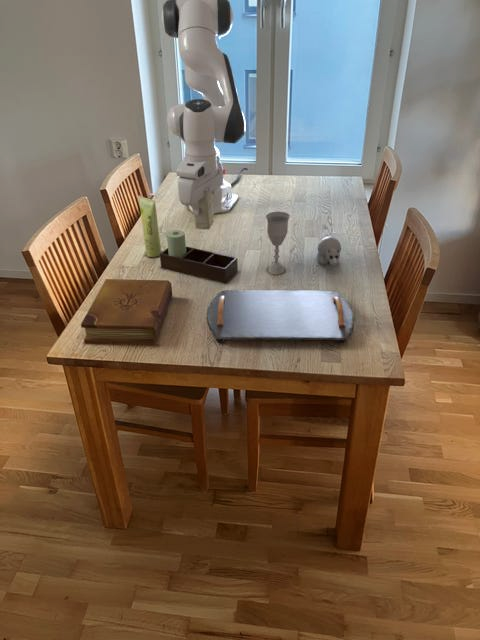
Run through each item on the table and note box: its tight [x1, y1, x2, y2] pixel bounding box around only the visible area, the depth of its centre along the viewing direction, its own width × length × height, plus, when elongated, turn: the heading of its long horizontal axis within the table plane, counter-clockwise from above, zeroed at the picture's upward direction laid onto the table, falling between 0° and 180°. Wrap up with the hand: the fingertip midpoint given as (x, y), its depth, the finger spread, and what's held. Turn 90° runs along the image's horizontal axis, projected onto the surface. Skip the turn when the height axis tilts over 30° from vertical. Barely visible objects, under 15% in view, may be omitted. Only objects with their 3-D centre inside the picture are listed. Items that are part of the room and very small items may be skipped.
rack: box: [159, 245, 238, 285], centre depth 162 cm, size 8×23×5 cm, turn 64°
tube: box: [138, 195, 162, 258], centre depth 167 cm, size 6×5×20 cm
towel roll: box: [166, 229, 187, 258], centre depth 163 cm, size 6×6×11 cm
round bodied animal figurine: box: [316, 236, 342, 268], centre depth 163 cm, size 7×12×8 cm, turn 3°
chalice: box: [265, 211, 291, 275], centre depth 158 cm, size 7×7×18 cm
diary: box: [80, 278, 173, 346], centre depth 140 cm, size 23×19×6 cm
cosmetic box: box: [194, 187, 215, 230], centre depth 155 cm, size 6×4×12 cm
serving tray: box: [205, 289, 355, 345], centre depth 138 cm, size 39×23×6 cm, turn 89°
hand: (203, 209), depth 155 cm, fingers closed on cosmetic box, 6 cm apart
